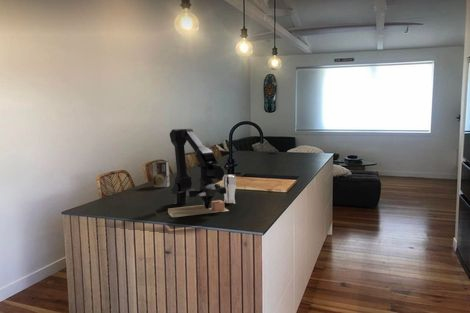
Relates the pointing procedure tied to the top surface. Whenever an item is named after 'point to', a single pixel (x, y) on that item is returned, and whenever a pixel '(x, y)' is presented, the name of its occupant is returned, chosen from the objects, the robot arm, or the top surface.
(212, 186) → the robot arm
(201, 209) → the beige open frame tray
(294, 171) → the top surface
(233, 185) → the beer glass
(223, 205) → the block
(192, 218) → the top surface
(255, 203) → the top surface
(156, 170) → the coffee box
